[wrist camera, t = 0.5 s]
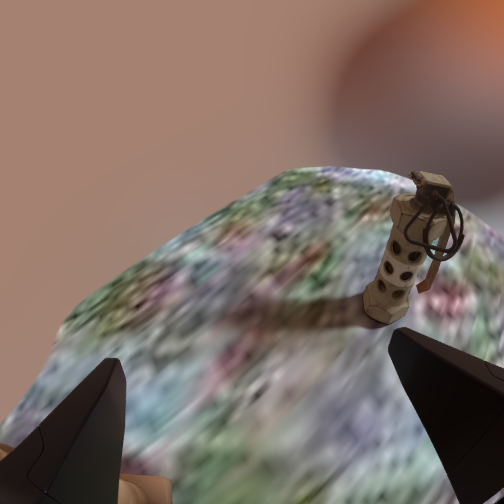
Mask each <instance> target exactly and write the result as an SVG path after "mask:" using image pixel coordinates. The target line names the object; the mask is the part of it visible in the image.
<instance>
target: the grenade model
mask: <svg viewBox="0 0 504 504" xmlns="http://www.w3.org/2000/svg"><path fill="white" fill-rule="evenodd" d="M409 176H410V178H411V179H412V180H413V182H414V183H415V185H416V188H417V191H416V194H413V193H404V194H400V195H398V196H396V197H394V199H393V203H392V206H391V210H390V213H391V218H392V221H393V227H392V230H391V234H390V238H389V240H388V242H387V246H386V249H385V252H384V256H383V258H382V260H381V263H380V266H379V269H378V272H377V275H376V277H375V280H374V281H373V282H371V283H370V284H368V285H367V286H366V288H365V291H364V293H363V303H364V309H365V313H366V314H367V315H369V316H370V317H372V318H373V319H375V320H377V321H379V322H382V323H386V324H390V323H392V322H395V321H396V320H398V319H400V318H401V317H403V316H404V315H405V314H406V312H407V310H408V308H409V299H408V295H409V293H410V290H411V288H412V287H413V285H414V283H415V281H416V279H417V277H418V273H419V271H420V269H421V268H422V265H423V263H424V261H425V259H426V256H427V255H428V256H429V257H430V258H431V259H433V261H432V263H431V266H430V268H429V270H428V273H427V276H426V279H425V280H423V281H422V282H420V283H419V284H417V285H416V287H417V290H418V293H422V292H424V291H427V290H429V289H430V288H431V285H432V283H433V280H434V278H435V276H436V274H437V272H438V269H439V266H440V263H441V261H446V260H448V259H450V258H451V257H453V256H454V255H455V254H456V253H457V251H458V250H459V248H460V246H461V244H462V242H463V239H464V236H465V235H464V234H463V216H462V213H461V210H460V209H459V207H458V206H457V205H456V204H455V198H454V193H453V188H452V186H451V185H450V184H449V182H448V181H447V180H446V179H445V178H444V177H443V176H441V175H437V174H432V173H427V172H421V171H419V172H418V173H417V174H416V173H415V172H411V174H410V173H409ZM455 210H457V211H458V213H459V217H460V233H459V237H458V240H457V237H456V233H455V230H454V224H455ZM450 233H451V234H452V238H453V245H452V247H451V248H449V249H445V248H446V245H447V242H448V239H449V236H450ZM439 237H440V238H439ZM437 238H439V241H438V244H437V246H433V245H431V244H432V242H433V240H436V239H437ZM430 249H432V250H436V251H435V254H434V255H433V253H432V252H431V250H430ZM444 253H448V254H446V255H445V256H443V254H444Z"/></svg>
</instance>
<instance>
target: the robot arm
mask: <svg viewBox="0 0 504 504" xmlns="http://www.w3.org/2000/svg"><path fill="white" fill-rule="evenodd" d="M388 352H389V355H390V358H391V360H392V362H393V365H394V367H395V369H396V372H397V374H398V376H399V379H400V381H401V383H402V386H403V388H404V390H405V392H406V394H407V395H408V397H409V399H410V401H411V403H412V405H413V407H414V409H415V410H416V412H417V414H418V416H419V418H420V420H421V422H422V424H423V426H424V428H425V430H426V432H427V434H428V436H429V438H430V440H431V442H432V444H433V446H434V448H435V450H436V452H437V454H438V456H439V458H440V461H441V463H442V465H443V467H444V469H445V471H446V473H447V476H448V478H449V480H450V483H451V485H452V487H453V490H454V492H455V494H456V496H457V499H458V501H459V504H483V503H484V502H486V501H487V500H488V499H490V498H491V497H492V496H494V495H495V494H496V493H498V492H499V491H500V492H501V493H502V495H503V496H501V497H500V498H499V499H498V500H497V501H496V502H495V503H494V504H504V368H501V367H499V366H496V365H494V364H491V363H489V362H487V361H484V360H482V359H479V358H477V357H475V356H472V355H470V354H468V353H465V352H463V351H460V350H458V349H456V348H453V347H451V346H449V345H446V344H444V343H442V342H439V341H437V340H435V339H432V338H430V337H427V336H425V335H423V334H420V333H418V332H416V331H413V330H411V329H409V328H406V327H401V328H397V329H395V330H394V331H393V334H392V337H391V340H390V343H389V346H388ZM125 408H126V377H125V374H124V371H123V368H122V365H121V362H120V360H119V359H118V358H105V359H104V360H103V361H102V362H101V363H100V364H99V365H98V366H97V367H96V368H95V369H94V370H93V371H92V372H91V373H90V374H89V375H88V376H87V377H86V378H85V379H84V380H83V381H82V382H81V383H80V384H79V385H78V386H77V387H76V388H75V389H74V390H73V391H72V392H71V393H70V394H69V395H68V396H67V397H66V398H65V399H64V400H63V401H62V402H61V403H60V404H59V405H58V406H57V407H56V408H55V409H54V410H53V411H52V412H51V413H50V414H49V415H48V416H47V417H46V418H45V419H44V420H43V421H42V422H41V423H40V424H39V426H37V427H36V428H35V429H34V430H33V431H32V432H31V433H30V434H29V435H28V436H27V437H26V438H25V439H24V440H23V441H22V442H21V443H20V444H19V445H18V446H17V447H16V448H14V449H13V450H12V451H11V452H10V453H9V454H8V455H6V456H5V457H4V458H3V459H2V460H0V504H118V492H119V479H120V467H121V457H122V448H123V440H124V432H125Z"/></svg>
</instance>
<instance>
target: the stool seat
mask: <svg viewBox="0 0 504 504" xmlns="http://www.w3.org/2000/svg"><path fill="white" fill-rule="evenodd" d="M13 449H14V448H12V447H9V446H7V445H4V444H1V443H0V460H2V459H3V458H4V457H5V456H6V455H8V454H9V453H10V452H11V451H12V450H13ZM118 504H173V503H172V488H171V480H170V479H168V478H166V477H159V476H145V475H134V474H124V473H120V479H119V492H118Z"/></svg>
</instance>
